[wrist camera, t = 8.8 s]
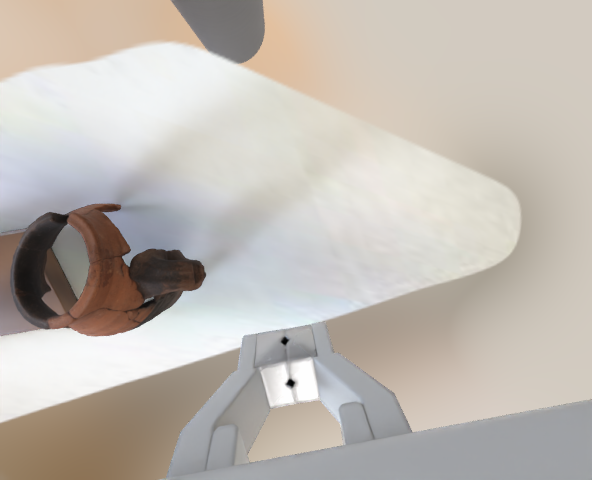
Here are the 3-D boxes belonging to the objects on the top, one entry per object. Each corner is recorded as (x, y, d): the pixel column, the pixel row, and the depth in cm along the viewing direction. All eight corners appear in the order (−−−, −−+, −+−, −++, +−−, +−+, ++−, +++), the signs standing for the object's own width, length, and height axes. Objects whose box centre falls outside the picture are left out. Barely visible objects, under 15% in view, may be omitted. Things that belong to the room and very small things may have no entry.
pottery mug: (114, 324, 25) (-5, 352, 17) (112, 221, 26) (-1, 203, 18) (235, 317, 22) (160, 347, 14) (227, 202, 23) (153, 169, 15)
